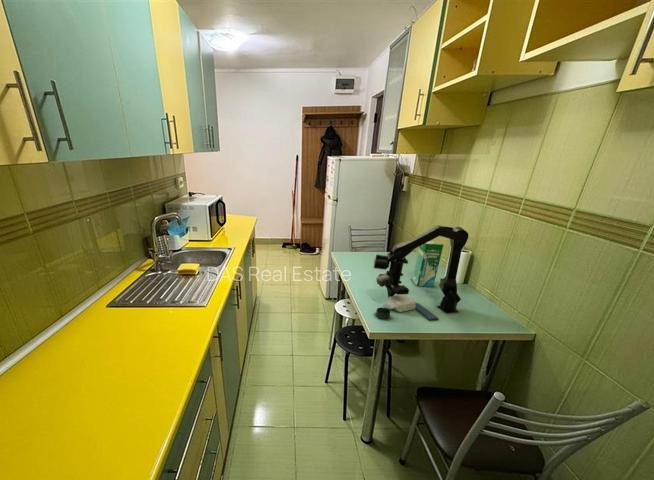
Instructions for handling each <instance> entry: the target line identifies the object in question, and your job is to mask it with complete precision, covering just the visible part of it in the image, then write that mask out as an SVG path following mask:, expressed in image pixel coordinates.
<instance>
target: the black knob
mask: <svg viewBox="0 0 654 480" xmlns="http://www.w3.org/2000/svg"><path fill="white" fill-rule="evenodd" d="M375 316H376V317H377V318H378V319H380V320H384V321H385V320H388V319H390V317H391V309H388V308H387V307H377V308H376V311H375Z"/></svg>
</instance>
